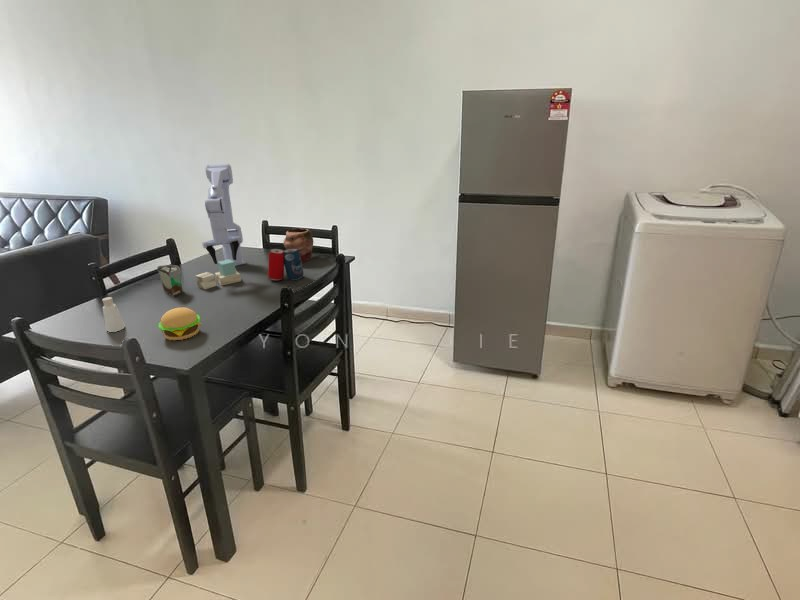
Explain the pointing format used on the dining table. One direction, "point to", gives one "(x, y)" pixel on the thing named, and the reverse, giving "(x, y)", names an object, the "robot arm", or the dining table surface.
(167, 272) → the food container
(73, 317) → the dining table surface
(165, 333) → the hamburger
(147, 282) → the dining table surface
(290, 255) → the soda can
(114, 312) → the pepper shaker
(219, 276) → the beech base
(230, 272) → the teal cube
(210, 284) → the maple cube
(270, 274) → the beverage can
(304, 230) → the decorative planter
